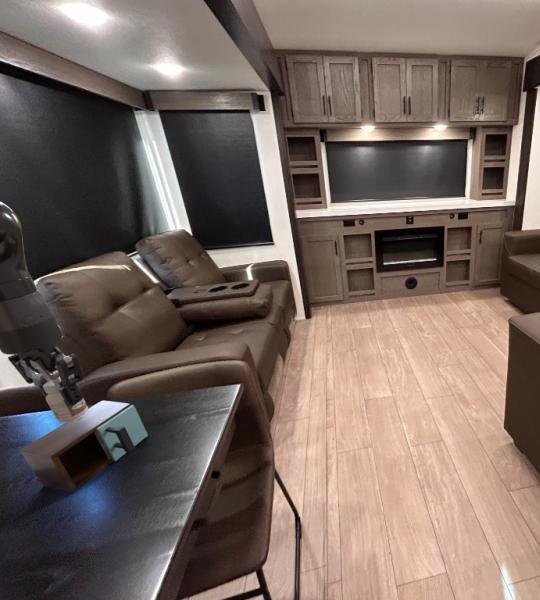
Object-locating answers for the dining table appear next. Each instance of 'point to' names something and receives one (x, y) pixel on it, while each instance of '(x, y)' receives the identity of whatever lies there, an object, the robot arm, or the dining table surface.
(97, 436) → the cabinet
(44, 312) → the robot arm
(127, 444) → the glass door
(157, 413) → the dining table surface
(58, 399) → the pill bottle
